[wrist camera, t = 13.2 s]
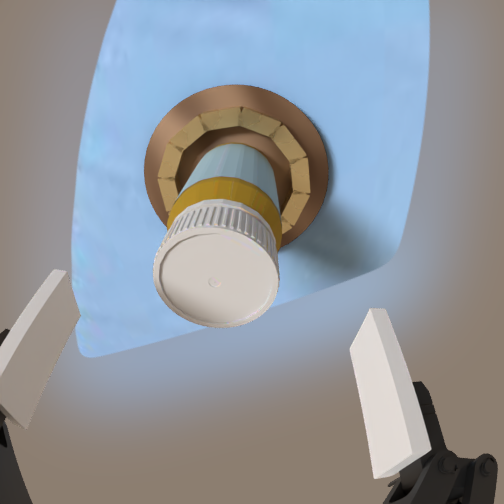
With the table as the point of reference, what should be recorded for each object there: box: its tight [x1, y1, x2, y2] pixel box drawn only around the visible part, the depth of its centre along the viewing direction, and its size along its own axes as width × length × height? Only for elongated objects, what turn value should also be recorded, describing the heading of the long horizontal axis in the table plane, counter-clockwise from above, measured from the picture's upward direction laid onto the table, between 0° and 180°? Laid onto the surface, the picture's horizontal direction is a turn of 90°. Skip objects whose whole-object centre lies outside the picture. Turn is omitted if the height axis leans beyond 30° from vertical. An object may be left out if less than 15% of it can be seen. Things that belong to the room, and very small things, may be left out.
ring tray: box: [144, 85, 328, 249], centre depth 27 cm, size 17×17×2 cm
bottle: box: [153, 142, 282, 328], centre depth 21 cm, size 7×7×15 cm
